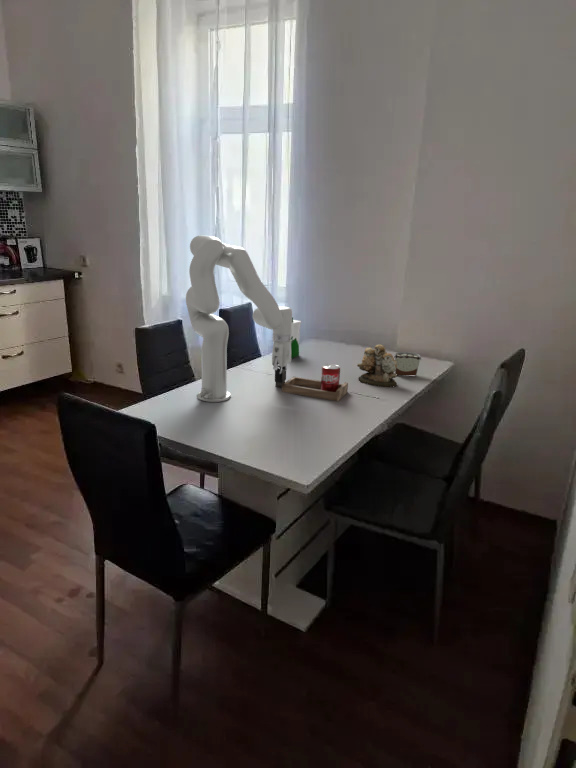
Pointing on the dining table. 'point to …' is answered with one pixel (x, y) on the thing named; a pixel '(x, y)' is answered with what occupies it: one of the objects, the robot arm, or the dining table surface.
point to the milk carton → (295, 338)
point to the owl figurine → (378, 367)
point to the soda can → (330, 377)
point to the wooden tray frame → (310, 392)
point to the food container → (407, 363)
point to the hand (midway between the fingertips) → (280, 380)
